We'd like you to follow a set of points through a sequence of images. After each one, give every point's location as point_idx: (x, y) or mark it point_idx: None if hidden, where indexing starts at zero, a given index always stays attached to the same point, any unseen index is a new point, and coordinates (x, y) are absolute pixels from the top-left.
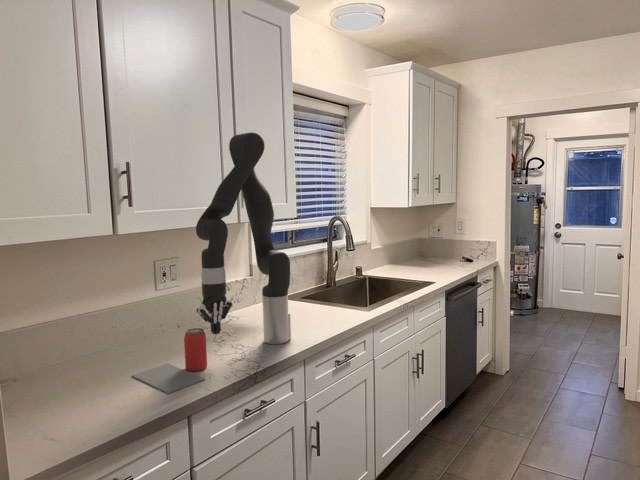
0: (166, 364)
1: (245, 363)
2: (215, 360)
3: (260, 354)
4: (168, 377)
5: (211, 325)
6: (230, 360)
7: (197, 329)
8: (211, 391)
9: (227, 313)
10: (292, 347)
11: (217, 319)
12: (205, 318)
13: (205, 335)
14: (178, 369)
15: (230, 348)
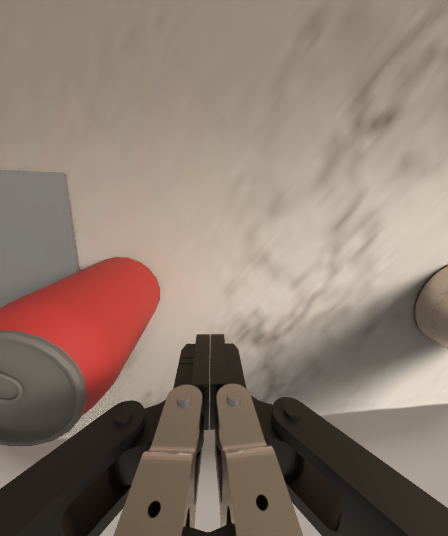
0: (53, 182)
1: (245, 370)
2: (208, 284)
3: (324, 351)
4: (10, 296)
5: (177, 385)
6: (237, 321)
7: (60, 361)
8: (70, 436)
9: (338, 500)
10: (415, 378)
11: (216, 452)
12: (95, 449)
13: (105, 392)
14: (66, 264)
15: (322, 231)
